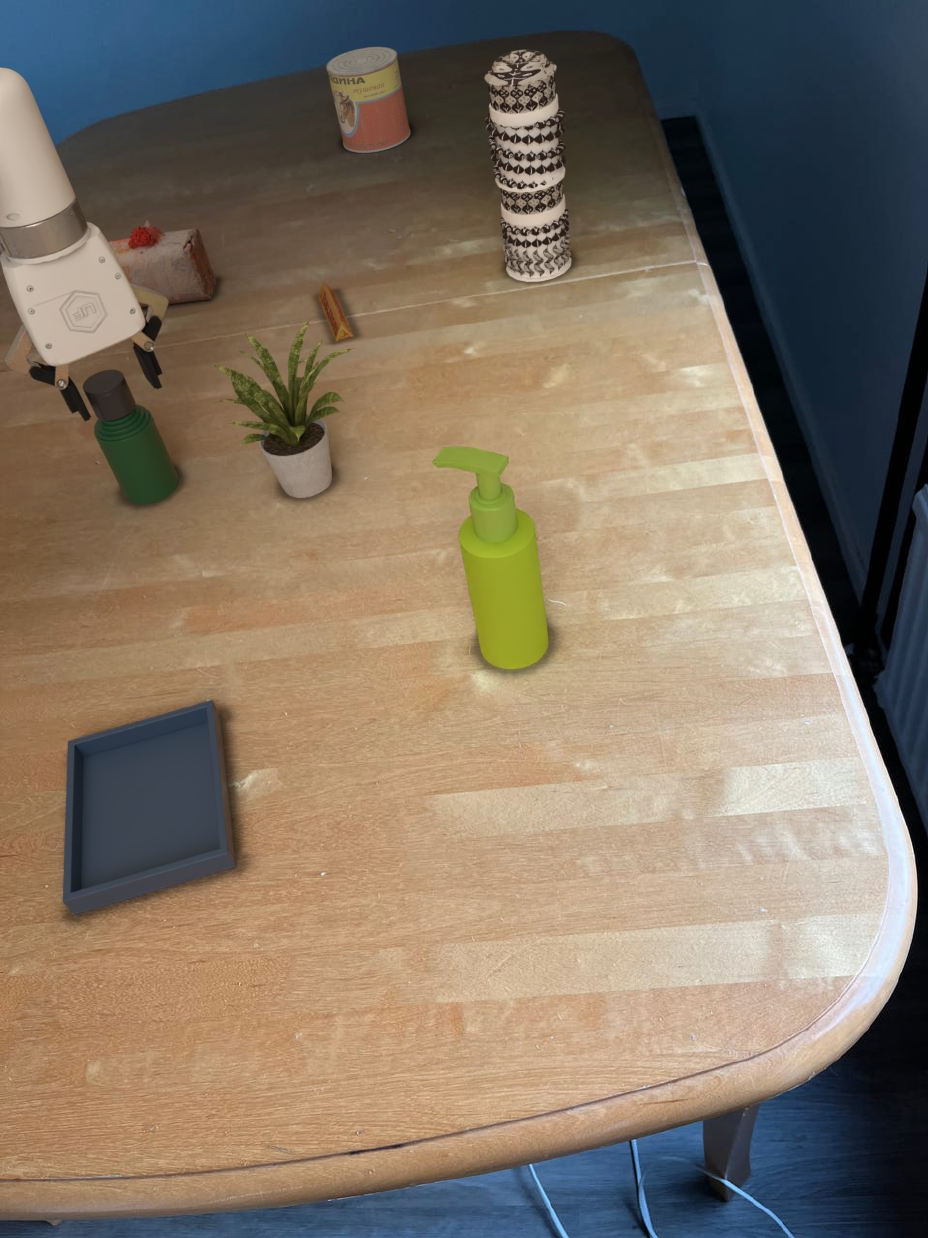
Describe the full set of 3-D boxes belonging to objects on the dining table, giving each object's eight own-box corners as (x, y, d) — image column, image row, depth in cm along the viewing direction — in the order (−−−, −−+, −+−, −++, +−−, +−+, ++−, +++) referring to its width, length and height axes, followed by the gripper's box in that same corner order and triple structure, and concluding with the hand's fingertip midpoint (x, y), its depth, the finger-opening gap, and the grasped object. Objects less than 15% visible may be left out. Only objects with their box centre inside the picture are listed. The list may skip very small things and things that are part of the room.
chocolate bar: (335, 343, 125) (330, 327, 124) (317, 299, 134) (313, 283, 132) (355, 337, 126) (351, 321, 124) (336, 294, 134) (332, 278, 132)
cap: (122, 422, 101) (109, 394, 98) (88, 420, 102) (74, 392, 100) (143, 398, 103) (130, 370, 101) (108, 396, 105) (95, 368, 102)
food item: (114, 317, 138) (84, 249, 131) (128, 288, 144) (100, 220, 137) (210, 305, 137) (186, 235, 130) (221, 275, 142) (198, 207, 135)
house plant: (378, 425, 112) (345, 289, 100) (393, 503, 103) (358, 363, 91) (251, 453, 112) (203, 320, 100) (254, 534, 102) (201, 397, 91)
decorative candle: (522, 293, 127) (500, 80, 109) (491, 264, 134) (465, 58, 116) (587, 269, 129) (575, 56, 111) (553, 242, 135) (537, 36, 117)
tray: (237, 869, 76) (228, 852, 74) (75, 917, 75) (62, 902, 73) (221, 716, 86) (212, 699, 85) (79, 757, 85) (67, 740, 84)
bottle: (114, 498, 110) (63, 396, 101) (152, 465, 113) (106, 364, 104) (153, 512, 107) (104, 409, 98) (191, 478, 110) (147, 375, 101)
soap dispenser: (487, 610, 90) (454, 425, 76) (559, 629, 88) (539, 441, 73) (458, 658, 87) (417, 474, 73) (532, 678, 84) (505, 492, 70)
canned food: (329, 144, 169) (312, 66, 161) (381, 119, 174) (366, 42, 165) (372, 158, 163) (355, 78, 154) (424, 131, 167) (411, 52, 159)
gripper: (-46, 280, 84) (47, 452, 97) (147, 205, 89) (212, 378, 102) (-65, 250, 89) (26, 418, 102) (120, 180, 94) (185, 349, 107)
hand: (119, 397), depth 102 cm, fingers open, 7 cm apart
